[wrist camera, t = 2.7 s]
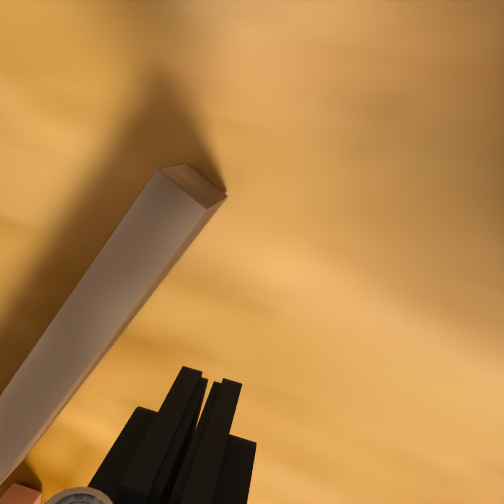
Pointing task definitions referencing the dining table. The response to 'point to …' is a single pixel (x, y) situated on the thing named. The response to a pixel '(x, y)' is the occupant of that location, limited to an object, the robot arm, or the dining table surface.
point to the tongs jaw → (104, 304)
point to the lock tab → (20, 495)
